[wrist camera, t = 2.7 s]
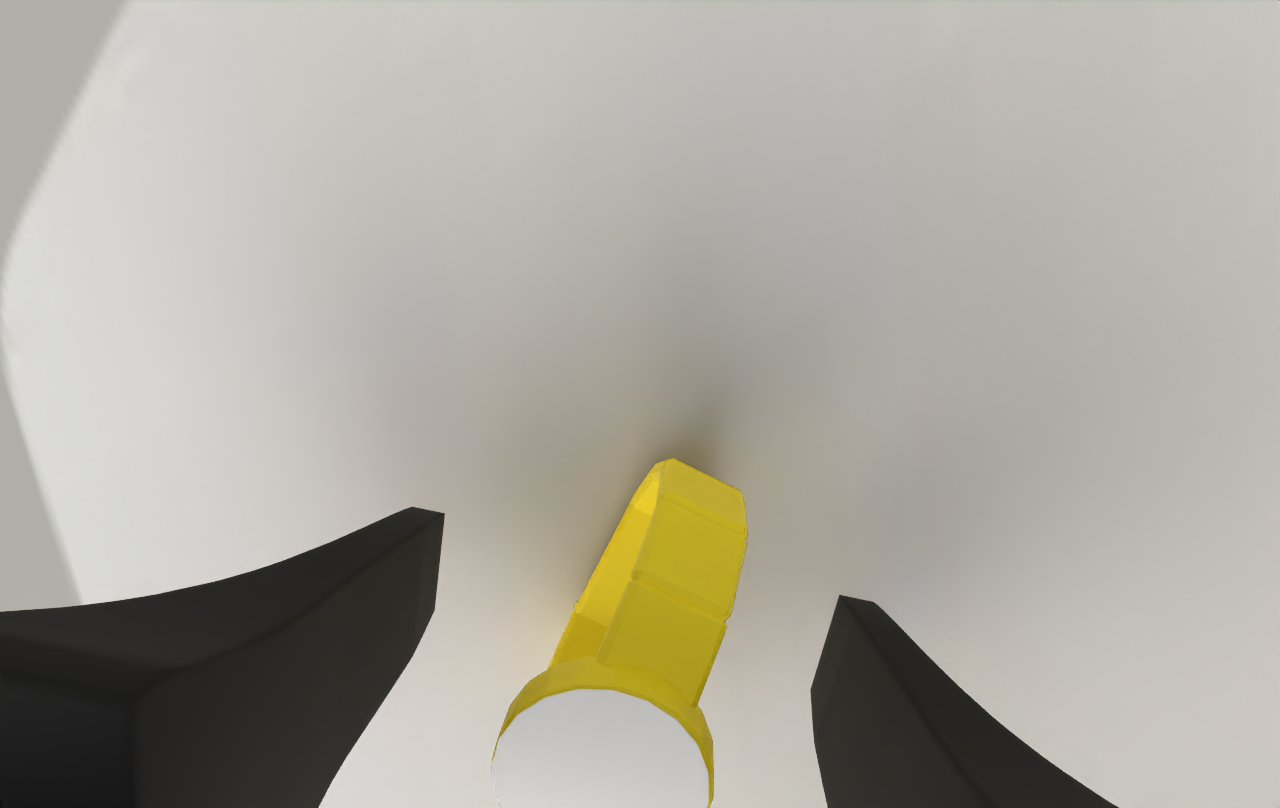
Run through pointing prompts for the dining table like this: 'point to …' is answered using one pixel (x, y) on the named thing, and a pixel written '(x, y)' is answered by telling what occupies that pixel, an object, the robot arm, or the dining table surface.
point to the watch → (633, 660)
